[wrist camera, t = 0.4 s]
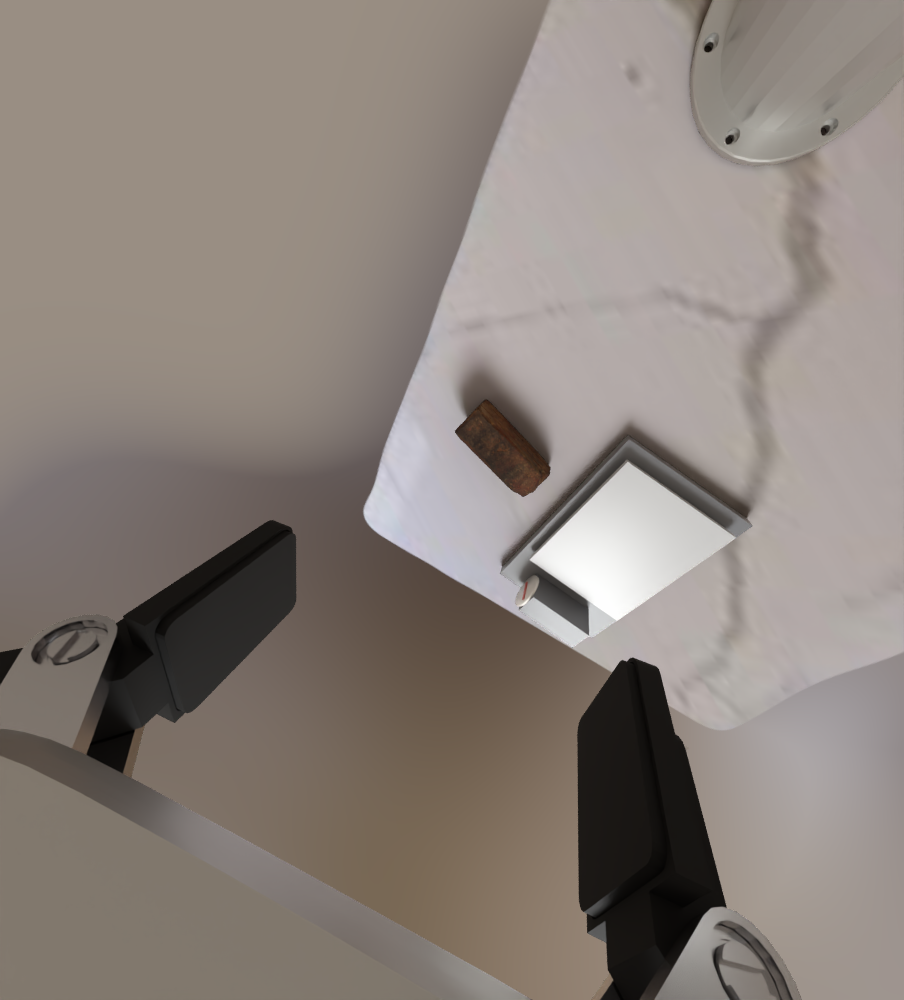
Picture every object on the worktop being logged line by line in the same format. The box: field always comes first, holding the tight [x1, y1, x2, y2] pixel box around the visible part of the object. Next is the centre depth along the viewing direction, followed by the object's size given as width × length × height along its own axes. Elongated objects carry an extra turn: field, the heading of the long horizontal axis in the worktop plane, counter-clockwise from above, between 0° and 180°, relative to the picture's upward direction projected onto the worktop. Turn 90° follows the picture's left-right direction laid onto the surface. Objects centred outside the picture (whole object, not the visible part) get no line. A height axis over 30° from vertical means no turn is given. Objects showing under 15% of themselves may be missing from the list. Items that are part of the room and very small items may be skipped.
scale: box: [500, 435, 752, 648], centre depth 41 cm, size 23×15×6 cm, turn 149°
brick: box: [455, 399, 550, 497], centre depth 40 cm, size 11×4×5 cm, turn 48°
